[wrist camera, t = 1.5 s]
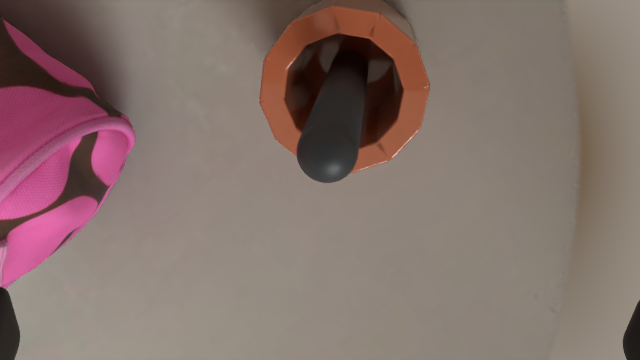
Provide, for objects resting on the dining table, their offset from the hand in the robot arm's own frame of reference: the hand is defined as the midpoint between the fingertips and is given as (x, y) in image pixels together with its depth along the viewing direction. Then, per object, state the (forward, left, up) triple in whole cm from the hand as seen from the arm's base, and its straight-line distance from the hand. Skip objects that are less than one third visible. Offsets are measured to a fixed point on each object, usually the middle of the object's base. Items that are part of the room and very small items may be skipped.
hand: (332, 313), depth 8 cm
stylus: (+1, 0, -15) cm, 15 cm away
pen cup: (+1, 0, -15) cm, 15 cm away
